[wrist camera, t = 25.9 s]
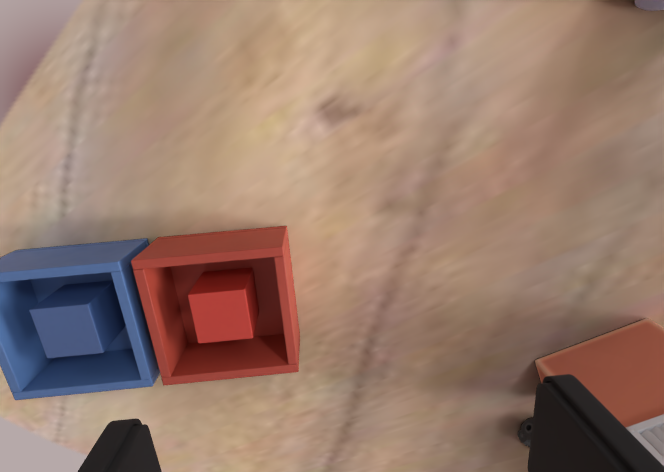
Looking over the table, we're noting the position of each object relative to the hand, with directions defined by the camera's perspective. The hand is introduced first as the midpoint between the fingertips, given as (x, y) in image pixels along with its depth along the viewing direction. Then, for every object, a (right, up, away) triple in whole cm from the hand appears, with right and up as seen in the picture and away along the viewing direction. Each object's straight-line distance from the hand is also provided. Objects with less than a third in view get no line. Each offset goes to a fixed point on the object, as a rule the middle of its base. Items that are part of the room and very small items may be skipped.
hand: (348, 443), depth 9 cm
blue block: (-22, -1, +26) cm, 34 cm away
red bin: (-10, 0, +27) cm, 29 cm away
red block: (-10, 0, +27) cm, 28 cm away
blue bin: (-22, -1, +27) cm, 35 cm away
